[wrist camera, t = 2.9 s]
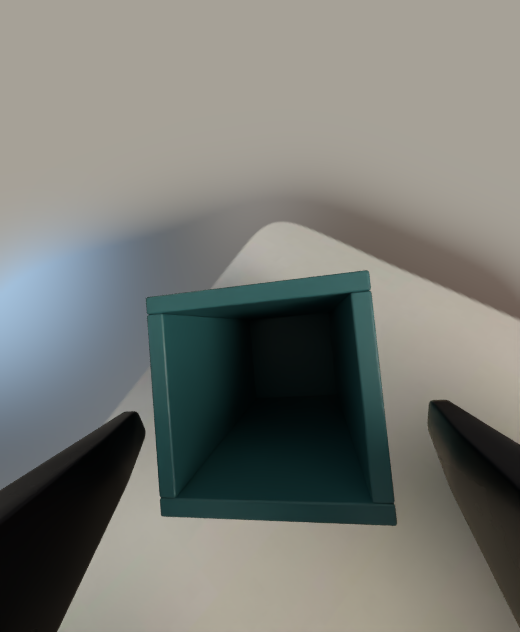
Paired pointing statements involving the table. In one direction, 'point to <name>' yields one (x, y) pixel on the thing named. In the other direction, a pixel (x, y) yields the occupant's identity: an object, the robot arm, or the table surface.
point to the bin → (271, 403)
